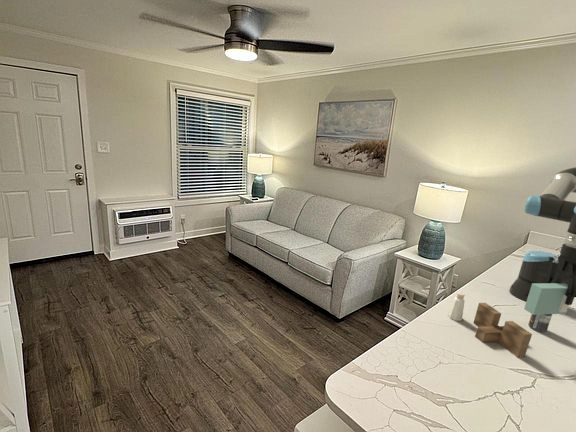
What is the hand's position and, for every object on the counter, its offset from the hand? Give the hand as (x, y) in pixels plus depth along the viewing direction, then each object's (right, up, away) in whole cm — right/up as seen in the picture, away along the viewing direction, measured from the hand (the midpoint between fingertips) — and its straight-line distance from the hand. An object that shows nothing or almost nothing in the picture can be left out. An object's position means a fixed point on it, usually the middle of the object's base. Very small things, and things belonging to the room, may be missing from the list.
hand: (556, 308), depth 110 cm
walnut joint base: (-17, -13, +5) cm, 22 cm away
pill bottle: (+5, -13, +15) cm, 21 cm away
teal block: (-5, -1, -1) cm, 5 cm away
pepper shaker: (-27, -9, +17) cm, 33 cm away
